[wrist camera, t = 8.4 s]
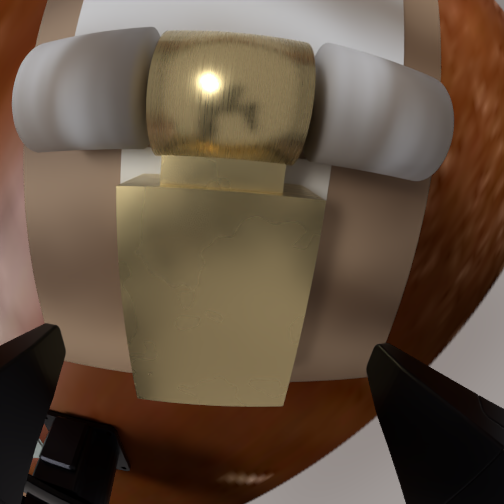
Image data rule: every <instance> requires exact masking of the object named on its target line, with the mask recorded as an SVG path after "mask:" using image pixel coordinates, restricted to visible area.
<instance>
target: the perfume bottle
mask: <svg viewBox="0 0 504 504" xmlns="http://www.w3.org/2000/svg"><path fill="white" fill-rule="evenodd" d="M314 93H315V58H314V52H313V49H312V47H311V45H310V44H309V43H307V42H302V41H297V40H291V39H285V38H279V37H272V36H264V35H256V34H247V33H236V32H222V31H196V30H173V31H165V32H164V33H163V34H162V35H161V37H160V39H159V40H158V43H157V45H156V47H155V50H154V53H153V57H152V61H151V65H150V70H149V77H148V84H147V96H146V122H147V132H148V138H149V143H150V146H151V149H152V151H153V153H154V154H155V155H156V156H161V173H160V174H141V175H139V176H137V177H134V178H132V179H130V180H128V181H126V182H123V183H121V184H119V185H117V186H116V215H117V245H118V262H119V275H120V287H121V297H122V306H123V315H124V323H125V330H126V337H127V344H128V350H129V356H130V362H131V368H132V373H133V378H134V383H135V388H136V393H137V398H140V399H147V400H155V401H164V402H174V403H185V404H198V405H215V406H283V404H284V400H285V396H286V393H287V389H288V385H289V381H290V377H291V373H292V369H293V365H294V361H295V357H296V353H297V348H298V344H299V340H300V335H301V331H302V327H303V322H304V317H305V313H306V308H307V303H308V299H309V294H310V289H311V284H312V279H313V274H314V269H315V263H316V258H317V253H318V247H319V241H320V236H321V230H322V224H323V218H324V212H325V206H326V200H324V199H323V198H321V197H320V196H318V195H317V194H315V193H313V192H312V191H310V190H309V189H307V188H306V187H304V186H303V185H297V184H288V183H284V178H285V170H286V165H287V166H292V165H294V164H295V162H296V161H297V159H298V158H299V156H300V153H301V151H302V149H303V146H304V143H305V140H306V136H307V133H308V129H309V124H310V120H311V115H312V109H313V102H314Z"/></svg>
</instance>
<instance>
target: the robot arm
mask: <svg viewBox="0 0 504 504" xmlns="http://www.w3.org/2000/svg"><path fill="white" fill-rule="evenodd" d="M65 355H66V349H65V345H64V341H63V337H62V334H61V330H60V328H59V326H57V325H54V324H49V323H45V324H43V325H41V326H39V327H37V328H35V329H33V330H31V331H29V332H27V333H25V334H23V335H21V336H19V337H17V338H15V339H13V340H11V341H9V342H7V343H5V344H3V345H1V346H0V504H109V501H110V496H111V491H112V486H113V481H114V477H115V472H116V469H119V470H124V471H129V470H130V464H129V461H128V459H127V457H126V454H125V452H124V449H123V447H122V444H121V442H120V439H119V436H118V434H117V431H116V429H114V428H113V427H111V426H107V425H102V424H98V423H93V422H89V421H85V420H81V419H77V418H73V417H69V416H65V415H62V414H58V413H55V412H51V411H49V408H50V405H51V403H52V400H53V397H54V393H55V390H56V386H57V382H58V379H59V375H60V372H61V369H62V365H63V362H64V359H65ZM366 373H367V377H368V381H369V385H370V389H371V393H372V397H373V401H374V405H375V409H376V413H377V416H378V419H379V422H380V425H381V428H382V431H383V433H384V437H385V439H386V442H387V445H388V448H389V451H390V454H391V457H392V460H393V463H394V466H395V470H396V473H397V476H398V479H399V482H400V485H401V489H402V492H403V495H404V499H405V502H406V504H504V409H503V408H501V407H499V406H497V405H496V404H494V403H492V402H490V401H488V400H486V399H485V398H483V397H481V396H478V395H477V394H476V393H474V392H472V391H471V390H469V389H467V388H465V387H463V386H462V385H460V384H458V383H456V382H455V381H453V380H451V379H450V378H448V377H446V376H444V375H443V374H441V373H439V372H438V371H436V370H434V369H432V368H431V367H429V366H427V365H425V364H424V363H422V362H420V361H419V360H417V359H415V358H413V357H412V356H410V355H408V354H407V353H405V352H403V351H401V350H400V349H398V348H396V347H395V346H393V345H391V344H389V343H381V344H376V345H375V346H374V348H373V351H372V353H371V356H370V358H369V361H368V363H367V367H366ZM44 424H45V425H46V427H47V429H48V431H49V432H48V435H47V437H46V439H45V442H44V444H43V447H42V449H41V451H40V454H39V460H38V462H37V465H36V467H35V470H34V473H33V475H30V474H28V473H29V469H30V465H31V462H32V459H33V455H34V452H35V449H36V446H37V442H38V439H39V436H40V433H41V430H42V427H43V425H44ZM23 492H25V493H26V497H25V496H23Z"/></svg>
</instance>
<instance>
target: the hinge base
mask: <svg viewBox="0 0 504 504" xmlns="http://www.w3.org/2000/svg"><path fill="white" fill-rule="evenodd" d="M173 30H196V31H222V32H236V33H247V34H256V35H264V36H272V37H279V38H285V39H291V40H297V41H302V42H307V43H309V44H310V45H311V47H312V49H313V52H314V58H315V93H314V102H313V109H312V115H311V120H310V124H309V129H308V133H307V136H306V140H305V143H304V146H303V149H302V151H301V153H300V156H299V158H298V159H297V161H296V162H295V164H294V165H292V166H287V165H286V170H285V178H284V183H288V184H297V185H303V186H304V187H306V188H307V189H309V190H310V191H312V192H313V193H315V194H317V195H318V196H320V197H321V198H323V199H324V200H326V206H325V212H324V218H323V224H322V230H321V236H320V241H319V247H318V253H317V258H316V263H315V269H314V274H313V279H312V284H311V289H310V294H309V299H308V303H307V308H306V313H305V317H304V322H303V327H302V331H301V335H300V340H299V344H298V348H297V353H296V357H295V361H294V365H293V369H292V373H291V377H290V381H289V382H301V381H323V380H339V379H351V378H362V377H367V373H366V367H367V363H368V361H369V358H370V356H371V353H372V351H373V348H374V346H375V345H376V344H381V343H386V341H387V338H388V335H389V333H390V330H391V327H392V324H393V322H394V319H395V316H396V313H397V310H398V307H399V304H400V301H401V298H402V295H403V292H404V289H405V286H406V282H407V279H408V276H409V272H410V269H411V265H412V262H413V258H414V254H415V251H416V247H417V243H418V239H419V235H420V231H421V226H422V222H423V217H424V213H425V208H426V203H427V198H428V193H429V187H430V181H431V175H432V174H434V173H435V172H436V171H437V169H438V168H439V167H440V166H441V164H442V162H443V161H444V159H445V157H446V155H447V153H448V150H449V147H450V144H451V140H452V136H453V129H454V113H453V107H452V103H451V99H450V96H449V94H448V92H447V90H446V88H445V87H444V86H443V84H442V83H441V38H440V19H439V7H438V0H48V1H47V4H46V8H45V11H44V15H43V18H42V22H41V26H40V29H39V34H38V38H37V42H36V47H35V48H34V49H33V50H32V51H30V53H29V54H28V55H27V56H26V58H25V59H24V61H23V62H22V64H21V66H20V68H19V71H18V73H17V76H16V79H15V83H14V88H13V96H12V111H13V119H14V124H15V127H16V130H17V133H18V135H19V137H20V139H21V140H22V142H23V143H24V160H23V166H24V198H25V212H26V223H27V232H28V241H29V248H30V255H31V261H32V267H33V273H34V278H35V283H36V288H37V293H38V297H39V302H40V306H41V310H42V314H43V318H44V322H45V323H49V324H54V325H57V326H59V328H60V330H61V334H62V337H63V341H64V345H65V349H66V355H65V359H64V361H68V362H72V363H77V364H82V365H87V366H93V367H98V368H104V369H110V370H116V371H123V372H130V373H132V368H131V362H130V356H129V350H128V344H127V337H126V330H125V323H124V315H123V306H122V297H121V287H120V275H119V262H118V245H117V215H116V186H117V185H119V184H121V183H123V182H126V181H128V180H130V179H132V178H134V177H137V176H139V175H141V174H160V173H161V156H156V155H155V154H154V153H153V151H152V149H151V146H150V143H149V138H148V132H147V122H146V96H147V84H148V77H149V70H150V65H151V61H152V57H153V53H154V50H155V47H156V45H157V43H158V40H159V39H160V37H161V35H162V34H163V33H164V32H165V31H173Z"/></svg>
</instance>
